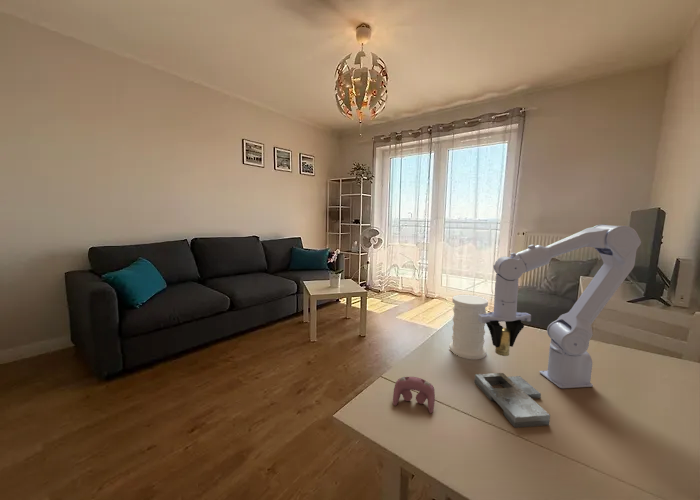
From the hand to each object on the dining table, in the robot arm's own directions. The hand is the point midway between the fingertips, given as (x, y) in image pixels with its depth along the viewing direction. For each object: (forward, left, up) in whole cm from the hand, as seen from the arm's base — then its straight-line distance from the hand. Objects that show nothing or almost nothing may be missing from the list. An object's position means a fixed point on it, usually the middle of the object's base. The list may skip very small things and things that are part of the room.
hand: (502, 345), depth 84 cm
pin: (0, 0, -2) cm, 2 cm away
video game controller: (+29, +11, -9) cm, 32 cm away
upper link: (+6, +13, -8) cm, 16 cm away
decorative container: (+3, -14, -9) cm, 17 cm away
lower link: (+4, +8, -8) cm, 12 cm away
